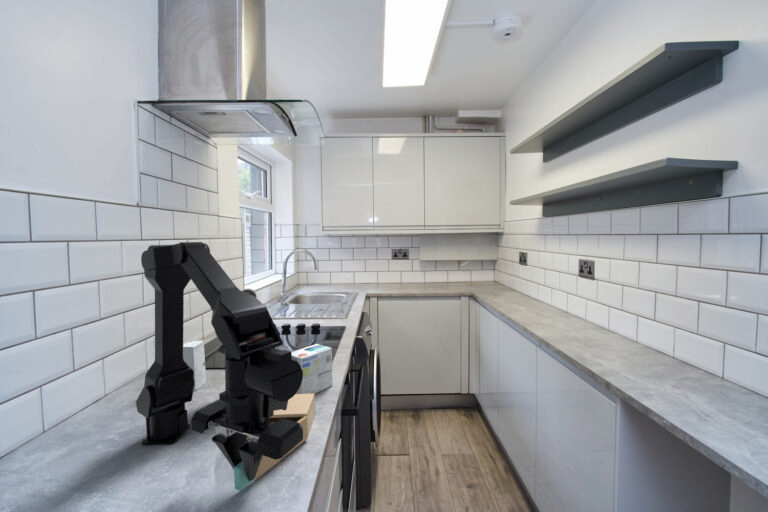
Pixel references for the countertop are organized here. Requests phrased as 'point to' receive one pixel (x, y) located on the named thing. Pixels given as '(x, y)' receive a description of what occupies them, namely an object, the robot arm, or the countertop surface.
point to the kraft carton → (296, 410)
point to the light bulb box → (314, 368)
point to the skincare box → (195, 361)
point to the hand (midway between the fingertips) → (246, 477)
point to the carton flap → (264, 462)
